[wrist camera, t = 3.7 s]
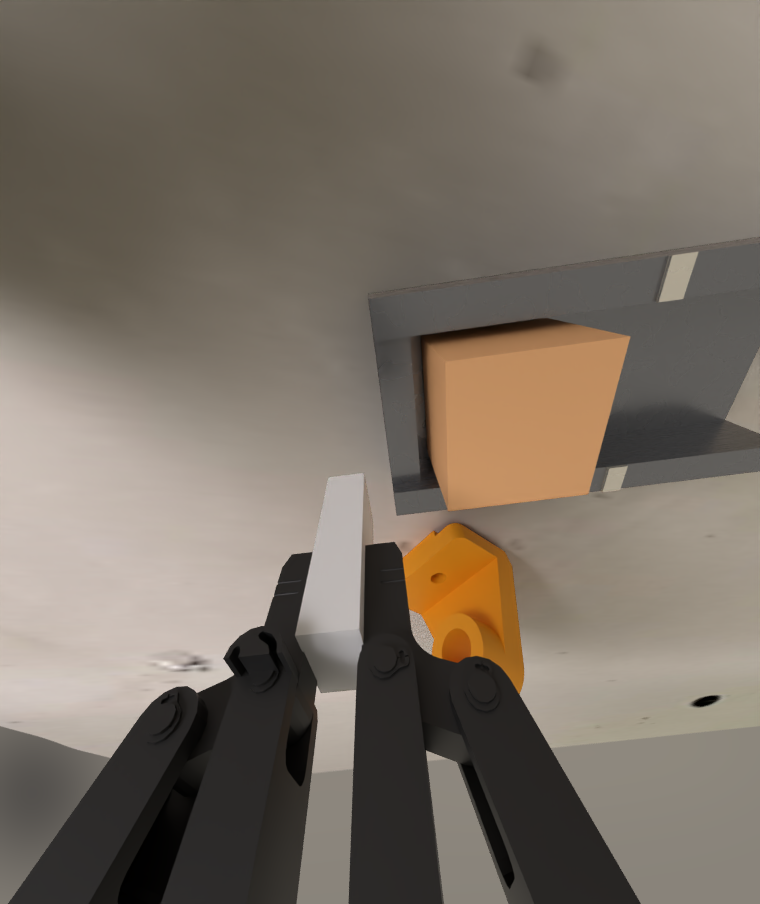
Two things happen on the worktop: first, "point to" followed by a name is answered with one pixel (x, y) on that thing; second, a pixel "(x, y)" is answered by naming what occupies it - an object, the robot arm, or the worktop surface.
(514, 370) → the slider block
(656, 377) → the chute
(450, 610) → the bracket
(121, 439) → the worktop surface
